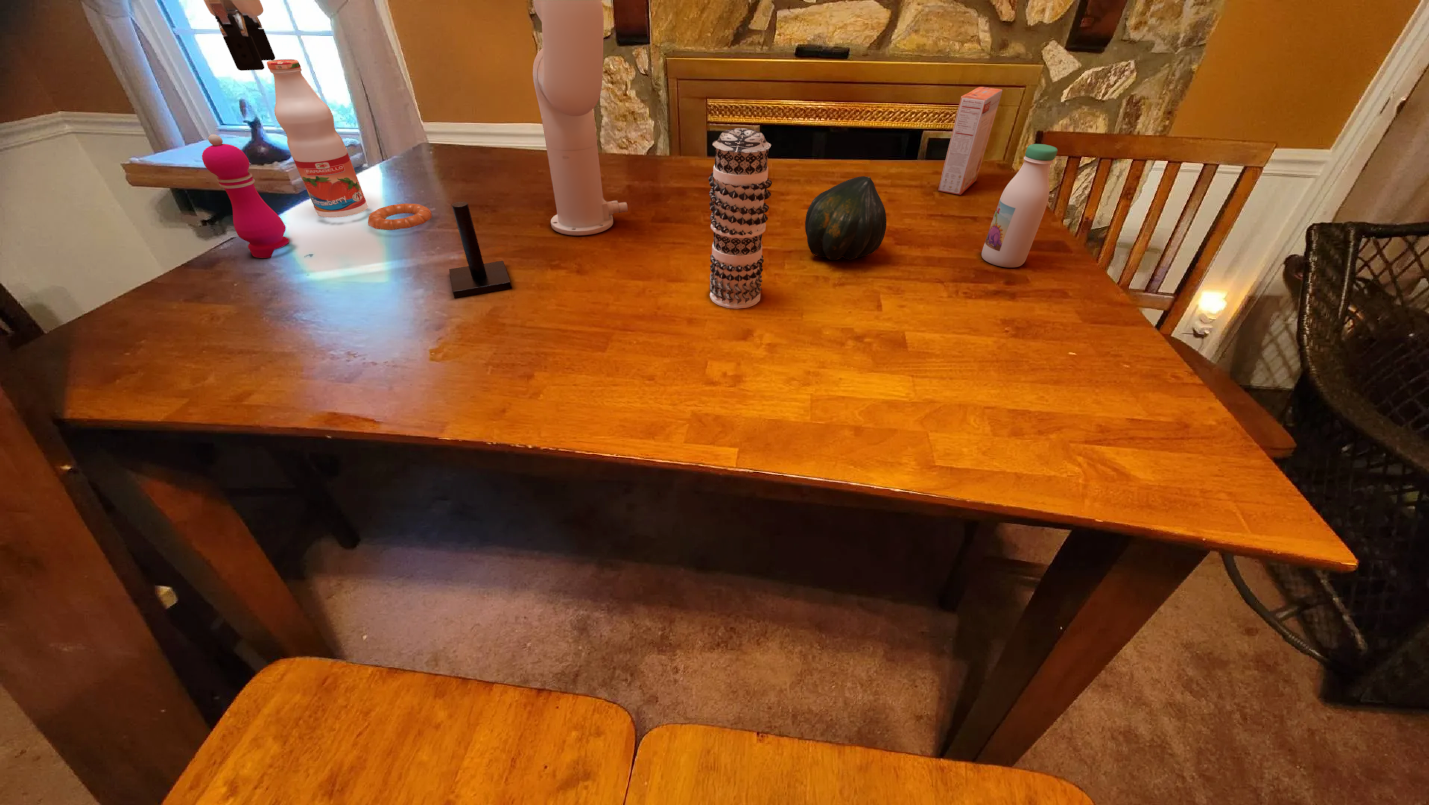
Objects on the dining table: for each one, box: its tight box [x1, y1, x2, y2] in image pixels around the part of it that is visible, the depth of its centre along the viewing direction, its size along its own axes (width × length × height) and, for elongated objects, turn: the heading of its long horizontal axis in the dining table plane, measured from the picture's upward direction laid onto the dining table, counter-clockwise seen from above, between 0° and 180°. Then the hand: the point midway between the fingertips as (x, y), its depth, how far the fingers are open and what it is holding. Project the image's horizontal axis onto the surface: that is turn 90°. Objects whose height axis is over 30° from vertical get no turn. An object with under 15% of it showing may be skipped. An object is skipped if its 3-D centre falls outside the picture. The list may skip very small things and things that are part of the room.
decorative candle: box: [708, 127, 773, 310], centre depth 84 cm, size 9×9×25 cm
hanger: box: [448, 201, 512, 299], centre depth 90 cm, size 9×9×13 cm
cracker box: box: [937, 86, 1003, 196], centre depth 131 cm, size 14×6×21 cm, turn 144°
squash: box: [804, 175, 888, 261], centre depth 101 cm, size 14×15×15 cm
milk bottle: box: [980, 143, 1058, 268], centre depth 98 cm, size 8×8×20 cm
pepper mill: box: [201, 133, 290, 259], centre depth 96 cm, size 7×7×20 cm
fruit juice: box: [266, 58, 369, 219], centre depth 108 cm, size 9×9×28 cm
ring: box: [367, 203, 433, 231], centre depth 112 cm, size 12×12×3 cm
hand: (258, 64), depth 82 cm, fingers open, 9 cm apart
